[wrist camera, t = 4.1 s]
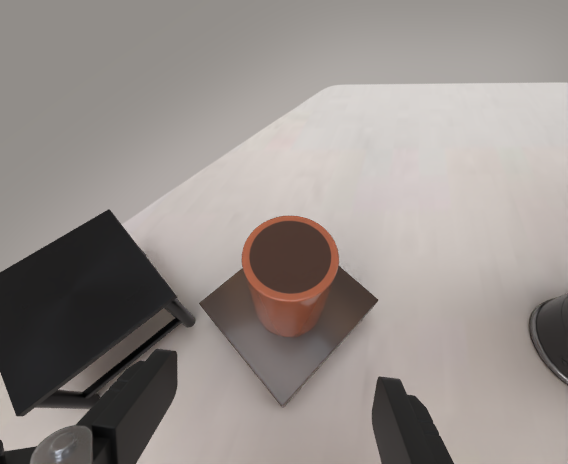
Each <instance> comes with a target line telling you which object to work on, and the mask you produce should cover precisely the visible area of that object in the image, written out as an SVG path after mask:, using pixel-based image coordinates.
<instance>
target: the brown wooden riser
mask: <svg viewBox="0 0 568 464" xmlns="http://www.w3.org/2000/svg"><path fill="white" fill-rule="evenodd" d="M377 302H378V299H377V298H376V297H374V296H373V295H372V294H371V293H370V292H369V291H367V290H366V289H365V288H364V287H363V286H362V285H360V284H359V283H358V282H357V281H356V280H355V279H354V278H352V277H351V276H350V275H349V274H348V273H347V272H345V271H344V270H343V269H342V268H341V267H340V266H338V270H337V273H336V276H335V279H334V282H333V284H332V287H331V290H330V293H329V295H328V298H327V301H326V304H325V307H324V309H323V312H322V315H321V317H320V319H319V321H318V322H317V324H316V325H315V326H314V327H313V328H312V329H311V330H309V331H308V332H306V333H304V334H302V335H299V336H295V337H283V336H279V335H276V334H274V333H272V332H270V331H269V330H268V329H266V328H265V327H264V326H263V325H262V323H261V322H260V320H259V319H258V317H257V314H256V311H255V308H254V304H253V301H252V298H251V294H250V291H249V287H248V284H247V281H246V277H245V274H244V270H243V268H242V269H241V270H240V271H238V272H237V273H236V274H235V275H234V276H232V277H231V278H230V279H229V280H227V281H226V282H225V283H224V284H222V285H221V286H220V287H219V288H217V289H216V290H215V291H214V292H212V293H211V294H210V295H209V296H207V297H206V298H205V299H204V300H203V301H201V302H200V303H199V304H200V305H201V307H202V308H203V309H204V310H205V312H206V313H207V314H208V316H209V317H210V318H211V319H212V321H213V322H214V323H215V324H216V326H217V327H218V328H219V329H220V331H221V332H222V333H223V334H224V336H225V337H226V338H227V339H228V340H229V342H230V343H231V344H232V345H233V347H234V348H235V349H236V350H237V352H238V353H239V354H240V355H241V357H242V358H243V359H244V360H245V362H246V363H247V364H248V365H249V367H250V368H251V369H252V370H253V372H254V373H255V374H256V375H257V377H258V378H259V379H260V380H261V381H262V383H263V384H264V385H265V386H266V388H267V389H268V390H269V391H270V393H271V394H272V395H273V396H274V398H275V399H276V400H277V401H278V403H279V404H280V405H281V406H282V407H284V406H285V405H286V404H287V403H288V402H289V401H290V400H291V399H292V397H293V396H294V395H295V394H296V393H297V392H298V391H299V390H300V389H301V387H302V386H303V385H304V384H305V383H306V382H307V381H308V380H309V379H310V377H311V376H312V375H313V374H314V373H315V372H316V371H317V370H318V369H319V367H320V366H321V365H322V364H323V363H324V362H325V361H326V360H327V359H328V357H329V356H330V355H331V354H332V353H333V352H334V351H335V350H336V349H337V347H338V346H339V345H340V344H341V343H342V342H343V341H344V340H345V339H346V337H347V336H348V335H349V334H350V333H351V332H352V331H353V330H354V329H355V327H356V326H357V325H358V324H359V323H360V322H361V321H362V320H363V319H364V317H365V316H366V315H367V314H368V313H369V311H370V310H371V309H372V308H373V307H374V305H375V304H376V303H377Z"/></svg>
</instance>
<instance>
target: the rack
mask: <svg viewBox="0 0 568 464" xmlns="http://www.w3.org/2000/svg"><path fill="white" fill-rule="evenodd" d="M176 298H177V296H176V295H175V293H174V292H173V291H172V290H171V288H170V287H169V286H168V284H167V283H166V282H165V280H164V279H163V278H162V277H161V275H160V274H159V273H158V271H157V270H156V269H155V268H154V266H153V265H152V264H151V262H150V261H149V260H148V258H147V257H146V255H145V253H144V252H143V251H142V250H141V249H140V248H139V247H138V245H137V244H136V243H135V242H134V240H133V239H132V238H131V236H130V235H129V234H128V233H127V231H126V230H125V229H124V227H123V226H122V225H121V223H120V222H119V221H118V220H117V218H116V217H115V216H114V215H113V213H112V212H111V211H110V210H107V211H105V212H103V213H102V214H100V215H98V216H97V217H95V218H93V219H91V220H90V221H88V222H86V223H84V224H83V225H81V226H79V227H78V228H76V229H74V230H72V231H71V232H69V233H67V234H66V235H64V236H62V237H60V238H59V239H57V240H55V241H54V242H52V243H50V244H48V245H47V246H45V247H43V248H41V249H40V250H38V251H36V252H35V253H33V254H31V255H29V256H28V257H26V258H24V259H23V260H21V261H19V262H17V263H16V264H14V265H12V266H11V267H9V268H7V269H5V270H4V271H2V272H0V373H1V375H2V378H3V381H4V383H5V386H6V389H7V392H8V394H9V397H10V400H11V402H12V405H13V408H14V411H15V413H16V416H24V415H26V414H27V413H28V412H30V411H31V410H32V409H33V408H73V409H91V408H92V407H93V406H94V404H95V403H96V402H97V401H98V400H99V395H98V394H95V393H96V392H97V391H98V390H100V389H101V388H102V387H103V386H104V385H106V384H107V383H108V382H109V381H111V380H112V379H113V378H114V377H115V376H117V375H118V374H119V373H120V372H122V371H123V370H124V369H125V368H127V367H128V366H129V365H130V364H131V363H133V362H134V361H135V360H136V359H138V358H139V357H140V356H141V355H143V354H144V353H145V352H146V351H147V350H149V349H150V348H151V347H152V346H154V345H155V344H156V343H157V342H158V341H160V340H161V339H162V338H163V337H165V336H166V335H167V334H168V333H170V332H171V331H172V330H173V329H174V328H176V327H177V326H178V325H179V324H181V323H182V324H183V325H184V326H186V327H191V326H193V325H194V323H195V318H194V317H193V316H192V315H191V313H190V312H189V311H188V310H187V309H186V308H185V307H184V306H183V305H182V304H181V303H180V302H179V301H178V300H177V299H176ZM163 308H165V309H166V310H167V311H168V312H169V313H171V314H172V315H173V316H174V317H175V319H173V320H172V321H171V322H170V323H168V324H167V325H166V326H165V327H163V328H162V329H161V330H160V331H158V332H157V333H156V334H155V335H153V336H152V337H151V338H150V339H148V340H147V341H146V342H145V343H143V344H142V345H141V346H140V347H138V348H137V349H136V350H135V351H133V352H132V353H131V354H130V355H128V356H127V357H126V358H125V359H123V360H122V361H121V362H120V363H118V364H117V365H116V366H115V367H113V368H112V369H111V370H110V371H108V372H107V373H106V374H105V375H103V376H102V377H101V378H100V379H98V380H97V381H96V382H95V383H93V384H92V385H91V386H90V387H88V388H87V389H86V390H85V391H84V392H75V391H66V390H58V389H59V388H61V387H62V386H63V385H65V384H66V383H67V382H68V381H70V380H71V379H72V378H74V377H75V376H76V375H77V374H79V373H80V372H81V371H83V370H84V369H85V368H87V367H88V366H89V365H90V364H92V363H93V362H94V361H96V360H97V359H98V358H99V357H101V356H102V355H103V354H105V353H106V352H107V351H109V350H110V349H111V348H112V347H114V346H115V345H116V344H118V343H119V342H120V341H122V340H123V339H124V338H125V337H127V336H128V335H129V334H131V333H132V332H133V331H134V330H136V329H137V328H138V327H140V326H141V325H142V324H144V323H145V322H146V321H147V320H149V319H150V318H151V317H153V316H154V315H155V314H157V313H158V312H159V311H160V310H162V309H163Z"/></svg>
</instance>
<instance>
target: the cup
mask: <svg viewBox="0 0 568 464" xmlns="http://www.w3.org/2000/svg"><path fill="white" fill-rule="evenodd" d="M338 265H339V254H338V249H337V246H336V244H335V242H334V240H333V238H332V237H331V235H330V234H329V233H328V232H327V231H326V230H325V229H324V228H323V227H322V226H321V225H319V224H318V223H316V222H314V221H312V220H310V219H307V218H303V217H299V216H281V217H276V218H273V219H270V220H268V221H266V222H264V223H262V224H261V225H259V226H258V227H257V228H256V229H255V230H254V231H253V232H252V233H251V234H250V236H249V237H248V238H247V240H246V242H245V245H244V247H243V252H242V267H243V270H244V274H245V277H246V281H247V284H248V287H249V291H250V294H251V298H252V301H253V304H254V308H255V311H256V314H257V317H258V319H259V320H260V322H261V323H262V325H263V326H264V327H265V328H266V329H268V330H269V331H270V332H272V333H274V334H276V335H279V336H283V337H295V336H299V335H302V334H304V333H306V332H308V331H309V330H311V329H312V328H313V327H314V326H315V325H316V324H317V322H318V321H319V319H320V317H321V315H322V312H323V309H324V307H325V304H326V301H327V298H328V295H329V293H330V290H331V287H332V284H333V282H334V279H335V276H336V273H337V270H338Z"/></svg>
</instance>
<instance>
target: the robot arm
mask: <svg viewBox="0 0 568 464" xmlns="http://www.w3.org/2000/svg"><path fill="white" fill-rule="evenodd" d="M530 332H531V337H532V340H533V343H534V345H535V347H536V350H537V351H538V353H539V355H540V356H541V358H542V359H543V361H544V362H545V363H546V365H547V366H548V367H549V368H550V369H551V370H552V371H553V372H554V373H555V374H556V375H557V376H558V377H559V378H560V379H561V380H562V381H564V382H565V383H566V384H568V293H567V294H565V295H563V296H560V297H558V298H554V299H550V300H548V301H545V302H543V303H541V304H540V305H539V306H537V307H536V308H535V310H534V311H533V313H532V316H531V319H530ZM176 390H177V353H176V351H171V350H163V349H156V350H155V351H154V352H153V353H152V354H151V355H150V356H149V358H148V359H147V360H146V361H139V362H137V363H136V364H134V365H132V366H131V367H129V368H128V369H126V370H125V372H124V373H123V374H122V375H121V376H120V377H119V378H118V379H117V382H115V383H114V384H113V385H112V386H111V387H110V388H109V390H108V391H106V392H105V393H104V395H103V396H102V397H101V398H100V399H99V400H98V401H97V402H96V403H95V404H94V406H93V407H92V408H91V409H90V410H89V411H88V412H87V413H86V414H85V415H84V417H83V418H82V419H81V420H80V421H79V422H78V423H77V424H76V425H74V426H69V427H65V428H63V429H60V430H58V431H56V432H54V433H53V434H51V435H50V436H48V437H47V438H45V439H44V440H43V441H42V442H41V443H40V444H39V445H38V446H36V447H30V448H24V449H18V450H11V451H5V452H4V448H3V443H2V441H1V440H0V464H136V463H137V461H138V459H139V457H140V456H141V454H142V452H143V451H144V449H145V447H146V446H147V444H148V442H149V440H150V439H151V437H152V435H153V434H154V432H155V430H156V429H157V427H158V425H159V423H160V422H161V420H162V418H163V417H164V415H165V413H166V411H167V410H168V408H169V406H170V405H171V403H172V401H173V399H174V397H175V394H176ZM372 425H373V430H374V434H375V438H376V442H377V446H378V450H379V454H380V458H381V462H382V464H454V463H453V461H452V459H451V457H450V455H449V453H448V451H447V449H446V447H445V445H444V443H443V441H442V439H441V437H440V436H439V432H438V430H437V428H436V426H435V424H433V420H432V418H431V416H430V414H429V412H428V410H427V408H426V407H425V406H424V405H423V404H422V403H421V402H420V401H419V400H418V399H417V398H416V396H412V395H407V394H406V391H405V389H404V387H403V385H402V382H401V380H400V379H396V378H387V377H378V380H377V385H376V390H375V396H374V402H373V408H372Z"/></svg>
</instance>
